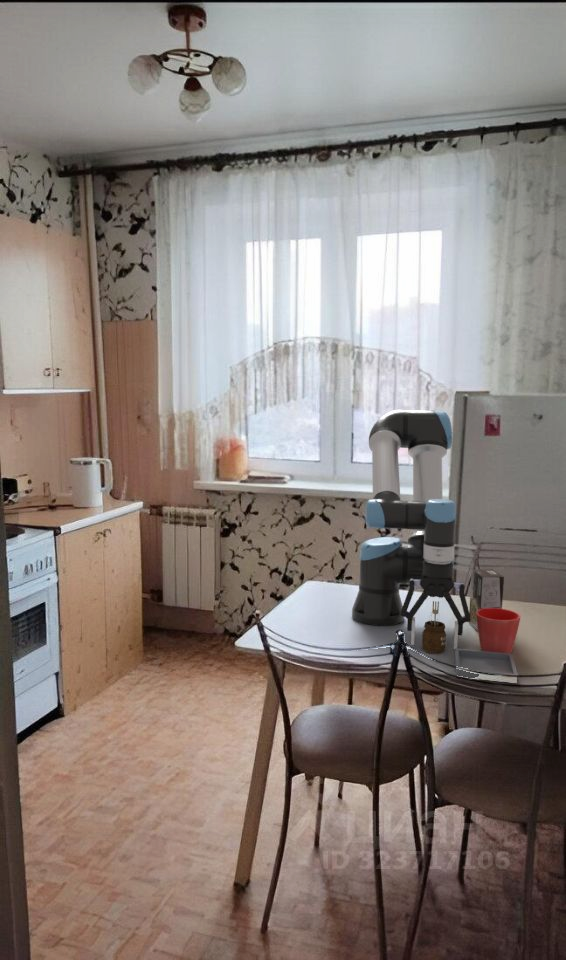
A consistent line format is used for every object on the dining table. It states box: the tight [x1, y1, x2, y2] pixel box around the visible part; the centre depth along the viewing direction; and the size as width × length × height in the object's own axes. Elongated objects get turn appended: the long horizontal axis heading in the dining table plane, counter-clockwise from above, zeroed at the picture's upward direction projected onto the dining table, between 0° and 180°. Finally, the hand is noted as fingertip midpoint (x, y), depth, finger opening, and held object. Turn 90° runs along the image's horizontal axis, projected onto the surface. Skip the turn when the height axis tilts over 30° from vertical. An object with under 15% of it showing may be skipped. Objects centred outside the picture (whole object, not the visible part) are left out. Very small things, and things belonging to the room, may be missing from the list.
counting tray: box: [454, 647, 519, 678], centre depth 167 cm, size 14×14×2 cm
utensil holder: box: [421, 600, 447, 655], centre depth 178 cm, size 6×6×12 cm
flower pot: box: [476, 608, 521, 654], centre depth 179 cm, size 11×11×10 cm
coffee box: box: [468, 568, 505, 632], centre depth 195 cm, size 9×6×16 cm
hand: (433, 645), depth 179 cm, fingers open, 10 cm apart
